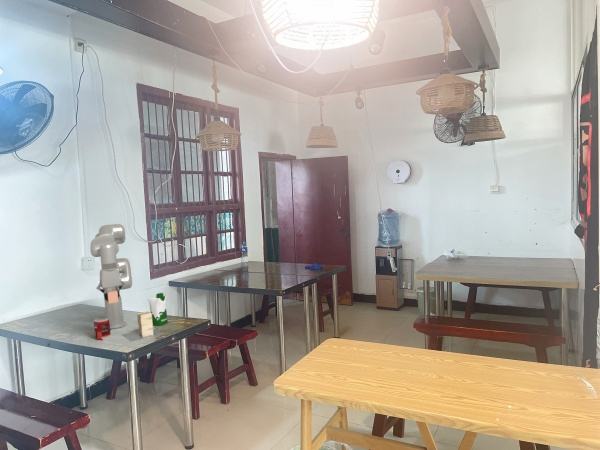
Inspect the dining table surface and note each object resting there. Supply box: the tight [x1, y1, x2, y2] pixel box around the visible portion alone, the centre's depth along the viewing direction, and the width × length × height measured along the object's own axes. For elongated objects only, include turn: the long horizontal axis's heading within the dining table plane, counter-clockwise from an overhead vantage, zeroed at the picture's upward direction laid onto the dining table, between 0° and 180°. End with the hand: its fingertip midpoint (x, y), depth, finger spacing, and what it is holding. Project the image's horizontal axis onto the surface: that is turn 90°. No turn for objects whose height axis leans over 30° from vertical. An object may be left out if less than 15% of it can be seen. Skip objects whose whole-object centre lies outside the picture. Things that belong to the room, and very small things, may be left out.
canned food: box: [93, 316, 111, 341], centre depth 245 cm, size 8×8×11 cm
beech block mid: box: [136, 311, 153, 326], centre depth 240 cm, size 6×6×6 cm
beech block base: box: [137, 324, 154, 337], centre depth 241 cm, size 6×6×6 cm
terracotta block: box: [106, 290, 118, 304], centre depth 237 cm, size 5×5×6 cm
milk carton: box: [147, 292, 169, 327], centre depth 260 cm, size 9×9×20 cm
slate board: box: [121, 329, 161, 343], centre depth 242 cm, size 18×16×2 cm
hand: (112, 299), depth 237 cm, fingers closed on terracotta block, 5 cm apart
